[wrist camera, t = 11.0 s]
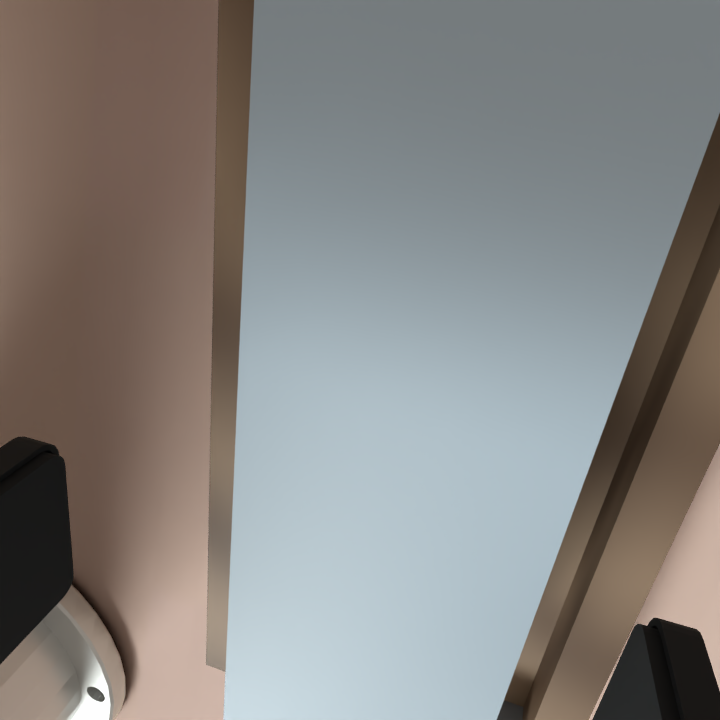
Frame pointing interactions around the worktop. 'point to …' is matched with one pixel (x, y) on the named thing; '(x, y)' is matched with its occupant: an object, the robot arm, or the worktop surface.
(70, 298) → the worktop surface
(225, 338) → the cradle
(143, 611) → the worktop surface
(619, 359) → the light blue block
